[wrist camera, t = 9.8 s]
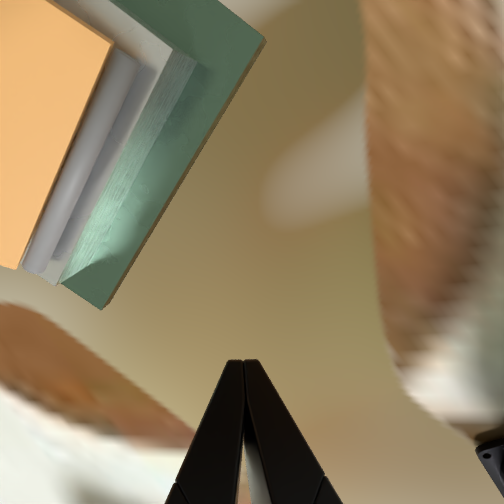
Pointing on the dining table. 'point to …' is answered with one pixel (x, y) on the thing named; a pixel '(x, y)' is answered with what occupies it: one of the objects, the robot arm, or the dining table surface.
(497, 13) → the dining table surface
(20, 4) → the tan square pad
